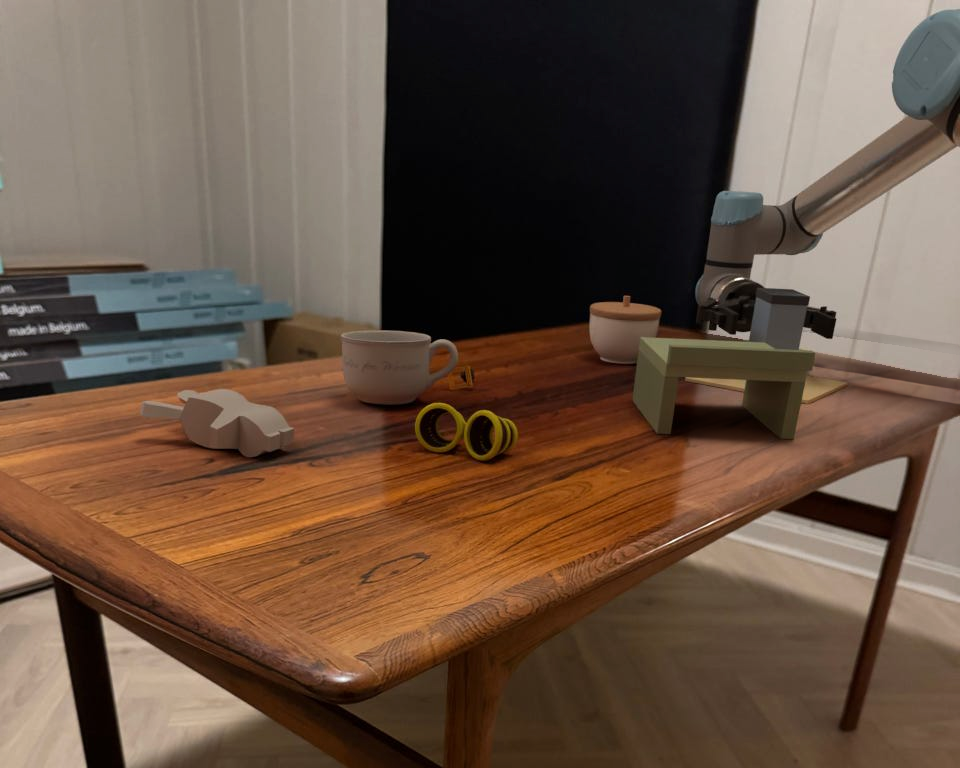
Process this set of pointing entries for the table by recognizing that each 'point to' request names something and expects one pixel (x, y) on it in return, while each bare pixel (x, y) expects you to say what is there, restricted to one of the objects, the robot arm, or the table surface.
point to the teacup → (391, 365)
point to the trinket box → (621, 329)
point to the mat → (812, 391)
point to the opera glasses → (466, 432)
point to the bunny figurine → (225, 421)
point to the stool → (765, 369)
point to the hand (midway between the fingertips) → (783, 326)
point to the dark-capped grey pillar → (779, 317)
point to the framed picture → (463, 377)
